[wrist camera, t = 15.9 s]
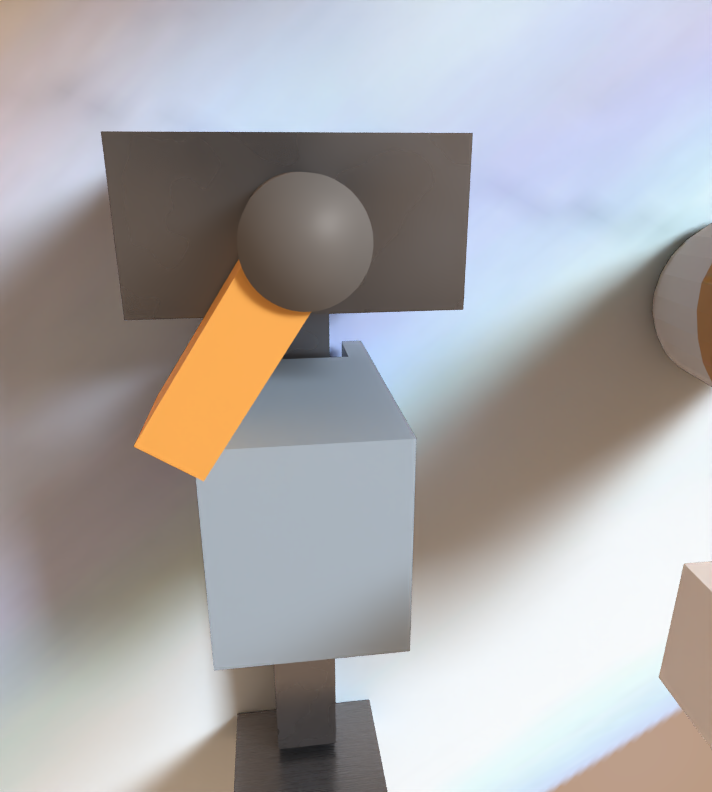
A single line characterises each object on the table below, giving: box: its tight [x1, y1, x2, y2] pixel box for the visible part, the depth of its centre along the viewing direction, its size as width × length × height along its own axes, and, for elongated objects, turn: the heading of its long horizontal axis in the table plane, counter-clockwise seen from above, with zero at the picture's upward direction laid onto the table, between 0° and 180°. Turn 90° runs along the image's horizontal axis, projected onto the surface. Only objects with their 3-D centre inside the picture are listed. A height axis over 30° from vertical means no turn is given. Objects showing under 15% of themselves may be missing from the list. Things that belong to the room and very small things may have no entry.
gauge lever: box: [134, 172, 373, 481], centre depth 13 cm, size 2×6×3 cm, turn 147°
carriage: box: [196, 341, 416, 670], centre depth 20 cm, size 6×5×9 cm
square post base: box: [234, 700, 387, 792], centre depth 27 cm, size 2×6×6 cm, turn 90°
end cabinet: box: [101, 132, 473, 320], centre depth 18 cm, size 4×8×8 cm, turn 90°
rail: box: [274, 314, 336, 749], centre depth 25 cm, size 19×2×2 cm, turn 0°
